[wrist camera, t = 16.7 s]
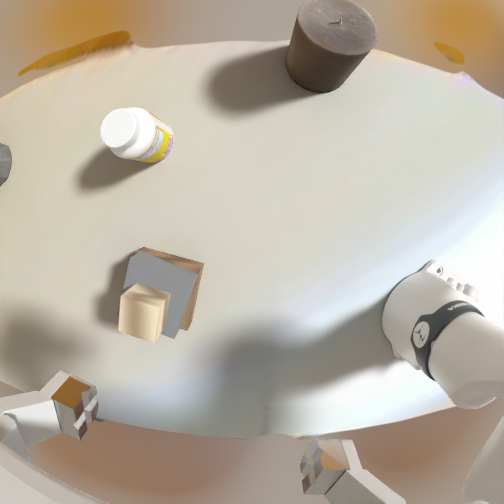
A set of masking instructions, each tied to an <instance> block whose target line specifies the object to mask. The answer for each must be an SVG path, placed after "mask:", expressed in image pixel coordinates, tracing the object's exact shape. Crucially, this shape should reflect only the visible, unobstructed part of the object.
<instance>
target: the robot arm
mask: <svg viewBox="0 0 504 504" xmlns="http://www.w3.org/2000/svg"><path fill="white" fill-rule="evenodd" d="M438 269H439V270H438ZM437 270H438V272H437ZM483 312H484V310H483V305H482V304H480V303H478V290H477V289H476V288H475V287H474V286H472V285H471V284H469V283H468V282H467V281H465V280H464V279H462V278H461V277H459V276H458V275H456V274H455V273H454V272H452V271H451V270H449V269H448V268H446V267H445V266H443V265H442V264H440V263H439V262H437V261H435V260H432V261H430V262H429V263H428V264H427V265H426V266H425V267H424V268H423V269H422V270H421V271H419V272H417V273H415V274H413V275H410V276H409V277H407V278H405V279H404V280H403V281H402V282H400V283H399V284H398V285H397V286H396V288H395V289H394V290H393V291H392V293H391V294H390V296H389V298H388V300H387V302H386V304H385V307H384V310H383V315H382V326H383V331H384V333H385V335H386V337H387V338H388V340H389V341H390V342H391V344H392V350H393V354H394V356H395V357H396V358H404V359H405V360H406V361H407V362H408V363H410V364H411V365H412V366H413V367H414V368H415V369H416V370H419V369H422V371H423V372H424V373H425V374H426V375H427V376H428V377H430V378H431V379H432V380H434V381H436V382H437V383H438V384H439V385H440V387H441V388H442V389H443V390H444V392H445V393H446V394H447V395H448V397H449V398H450V399H451V400H452V402H453V403H454V404H455V405H457V406H458V407H461V408H465V409H477V408H480V407H483V406H484V405H486V404H488V403H490V402H491V401H493V400H494V399H496V398H499V399H500V400H501V401H502V402H503V404H504V329H503V328H501V327H499V326H498V325H496V324H494V323H492V322H491V321H489V320H488V319H486V318H485V317H484V315H483ZM96 394H97V390H96V386H94V385H92V384H90V383H88V382H86V381H84V380H82V379H80V378H78V377H76V376H74V375H71V374H69V373H67V372H65V371H63V370H61V371H59V372H58V373H57V374H56V375H55V376H54V377H53V378H52V379H51V380H50V381H49V382H48V383H47V384H46V385H45V386H44V387H43V388H42V389H41V390H40V391H37V390H35V391H31V392H26V393H22V394H17V395H12V396H7V397H2V398H0V504H109V503H106V502H103V501H101V500H99V499H97V498H95V497H92V496H90V495H88V494H86V493H84V492H81V491H80V490H78V489H75V488H74V487H72V486H70V485H68V484H66V483H64V482H62V481H60V480H59V479H57V478H55V477H53V476H51V475H50V474H48V473H46V472H45V471H43V470H41V469H40V468H38V467H37V466H35V465H33V464H32V463H31V462H32V457H31V455H30V453H29V451H28V449H27V447H30V446H32V445H34V444H37V443H39V442H41V441H44V440H46V439H48V438H51V437H53V436H55V435H58V434H59V433H61V432H63V433H65V434H68V435H69V436H71V437H74V438H76V439H78V440H81V439H82V437H83V436H84V434H85V433H86V431H87V424H89V423H91V422H93V420H94V419H95V417H96V414H97V411H98V401H97V400H96V398H95V397H94V396H95V395H96ZM300 467H301V473H302V474H303V475H304V476H305V478H304V479H303V481H302V484H303V492H304V494H314V495H315V494H316V495H324V496H325V497H326V498H327V499H328V500H329V502H330V503H331V504H406V502H405V500H404V499H403V498H402V497H400V496H399V495H397V494H396V493H395V492H394V491H392V490H391V489H390V488H388V487H387V486H386V485H384V484H383V483H382V482H381V481H379V480H378V479H377V478H376V477H374V476H373V475H372V474H371V473H369V472H368V471H367V470H362V467H361V464H360V461H359V458H358V455H357V452H356V449H355V447H354V444H353V441H352V440H337V439H316V438H315V439H313V440H312V441H311V443H310V449H309V450H307V451H305V453H304V455H303V456H302V459H301V466H300ZM462 494H463V500H464V503H465V504H504V415H503V417H502V418H501V420H500V422H499V424H498V425H497V427H496V428H495V430H494V431H493V433H492V435H491V436H490V438H489V439H488V441H487V442H486V444H485V445H484V446H483V448H482V449H481V451H480V452H479V454H478V456H477V458H476V460H475V462H474V464H473V466H472V468H471V470H470V472H469V474H468V476H467V478H466V480H465V482H464V485H463V493H462Z"/></svg>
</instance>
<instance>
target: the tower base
mask: <svg viewBox="0 0 504 504" xmlns="http://www.w3.org/2000/svg"><path fill="white" fill-rule="evenodd" d="M141 251H142V252H145V253H147V254H150V255H152V256H155V257H157V258H159V259H162V260H164V261H167V262H169V263H172V264H174V265H177V266H179V267H182V268H184V269H187V270H189V271H192V272H195V273H197V274H198V276H197V279H196V282H195V285H194V288H193V291H192V294H191V297H190V300H189V303H188V306H187V309H186V312H185V315H184V318H183V321H182V324H181V327H180V329H183V330H186V331H187V330H188V328H189V326H190V324H191V322H192V318H193V313H194V308H195V303H196V299H197V294H198V289H199V284H200V280H201V275H202V270H203V266H204V263H201V262H197V261H193V260H190V259H186V258H182V257H179V256H175V255H171V254H167V253H164V252H160V251H156V250H153V249H149V248H146V247H143V248H141V249H139V250H137V251H135V254H137V253H139V252H141ZM135 254H134V255H135Z"/></svg>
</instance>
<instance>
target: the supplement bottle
mask: <svg viewBox="0 0 504 504" xmlns="http://www.w3.org/2000/svg"><path fill="white" fill-rule="evenodd" d="M100 135H101V139H102V141H103V142H104V144H105V145H107V146H108V147H109V148H110V150H111V151H112V152H113V153H114V154H115V155H116V156H118V157H120V158H124V159H130V160H136V161H141V162H147V163H156V162H159V161H161V160H163V159H164V158H165V157H167V156H168V154H169V153H170V152H171V150H172V148H173V144H174V135H173V132H172V130H171V128H170V127H169V126H168V125H167V124H166V123H164V122H163V121H161V120H160V119H158V118H157V117H155V116H154V115H152V114H150V113H149V112H147V111H146V110H144V109H142V108H138V107H130V108H126V109H123V108H120V109H116V110H113V111H112V112H110V113H109V114H108V115H107V116H106V117H105V119H104V120H103V122H102V125H101V129H100Z"/></svg>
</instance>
